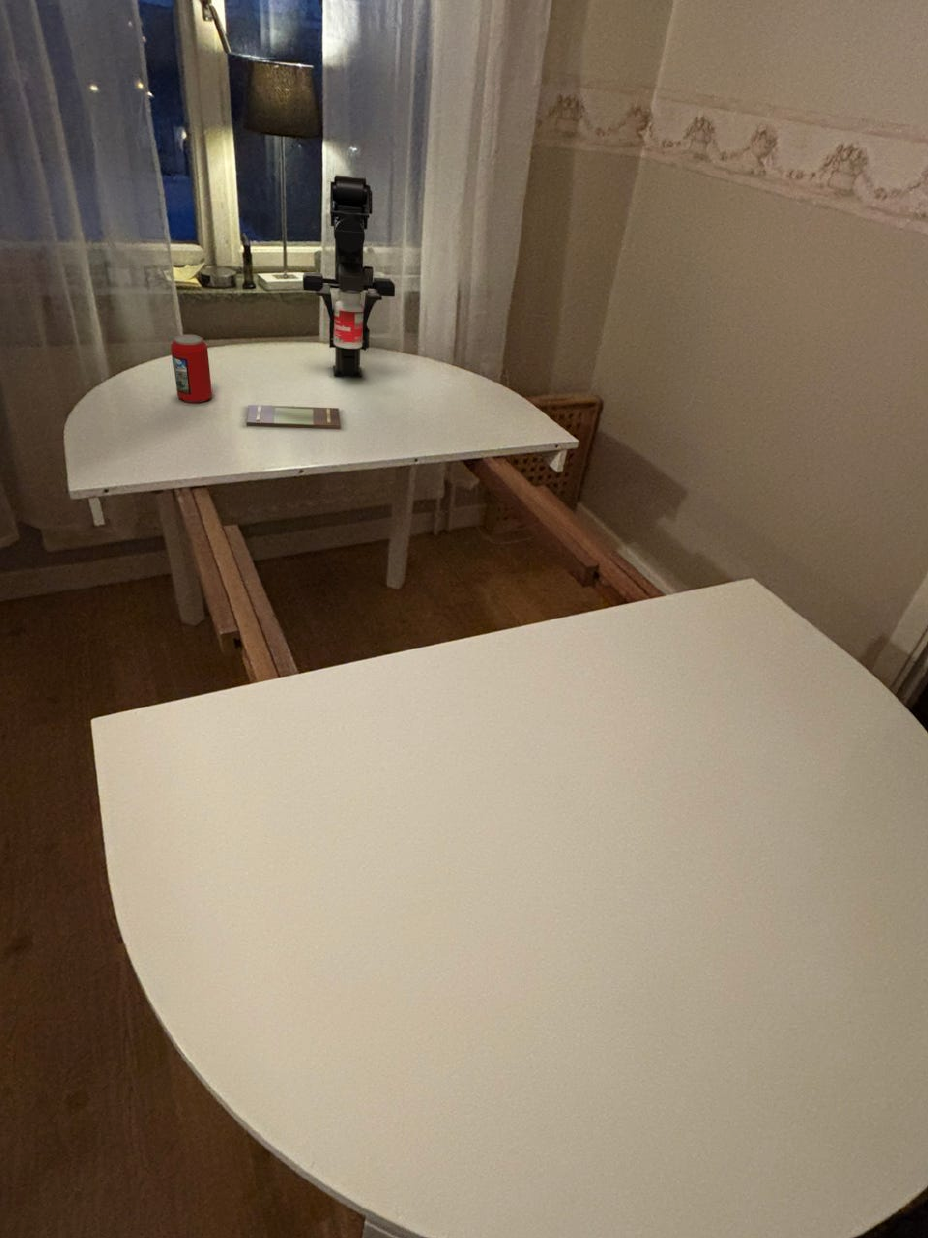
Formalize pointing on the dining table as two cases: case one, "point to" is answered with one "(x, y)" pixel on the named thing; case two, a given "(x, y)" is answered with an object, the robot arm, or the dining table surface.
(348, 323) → the pill bottle
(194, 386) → the beverage can
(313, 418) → the brown and green board
